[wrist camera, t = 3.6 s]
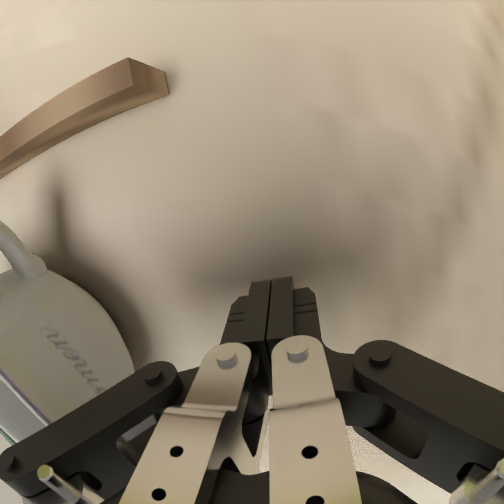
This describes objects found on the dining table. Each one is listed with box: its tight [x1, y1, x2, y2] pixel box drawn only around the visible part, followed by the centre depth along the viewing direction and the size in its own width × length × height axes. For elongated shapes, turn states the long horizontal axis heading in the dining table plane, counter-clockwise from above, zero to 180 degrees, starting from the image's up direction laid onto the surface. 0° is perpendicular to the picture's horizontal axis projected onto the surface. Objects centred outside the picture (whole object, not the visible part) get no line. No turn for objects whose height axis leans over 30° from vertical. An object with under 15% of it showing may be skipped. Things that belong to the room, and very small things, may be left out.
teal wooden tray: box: [0, 58, 169, 446], centre depth 12 cm, size 23×29×6 cm
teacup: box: [0, 221, 135, 443], centre depth 11 cm, size 14×11×8 cm
